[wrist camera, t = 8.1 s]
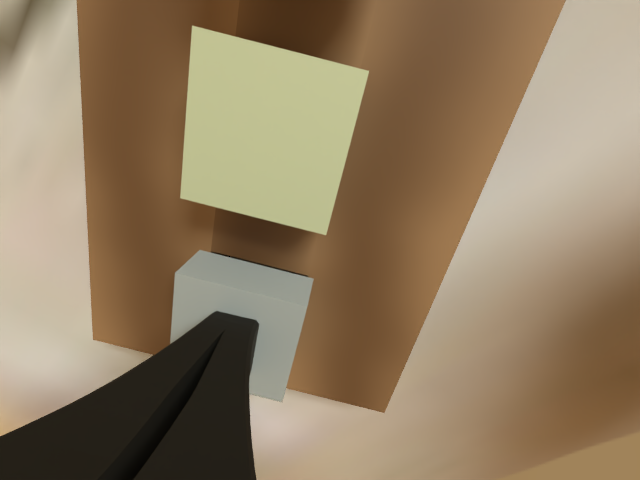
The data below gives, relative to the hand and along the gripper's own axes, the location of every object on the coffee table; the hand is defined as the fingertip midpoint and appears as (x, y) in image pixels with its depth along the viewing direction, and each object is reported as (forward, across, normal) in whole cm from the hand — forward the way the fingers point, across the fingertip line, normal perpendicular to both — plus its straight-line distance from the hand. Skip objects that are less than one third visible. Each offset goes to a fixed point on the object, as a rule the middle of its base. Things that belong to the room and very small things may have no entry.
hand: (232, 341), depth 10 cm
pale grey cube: (+4, 0, 0) cm, 4 cm away
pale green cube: (+4, 0, -6) cm, 7 cm away
